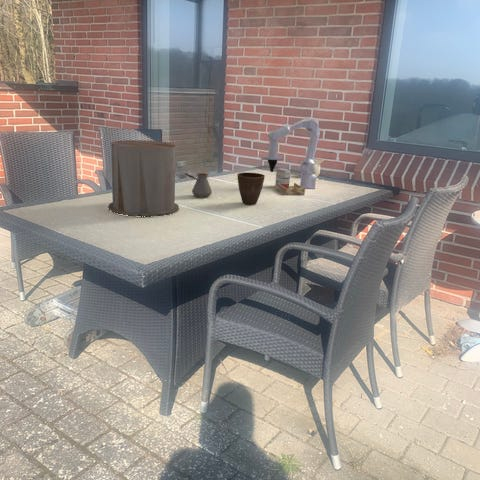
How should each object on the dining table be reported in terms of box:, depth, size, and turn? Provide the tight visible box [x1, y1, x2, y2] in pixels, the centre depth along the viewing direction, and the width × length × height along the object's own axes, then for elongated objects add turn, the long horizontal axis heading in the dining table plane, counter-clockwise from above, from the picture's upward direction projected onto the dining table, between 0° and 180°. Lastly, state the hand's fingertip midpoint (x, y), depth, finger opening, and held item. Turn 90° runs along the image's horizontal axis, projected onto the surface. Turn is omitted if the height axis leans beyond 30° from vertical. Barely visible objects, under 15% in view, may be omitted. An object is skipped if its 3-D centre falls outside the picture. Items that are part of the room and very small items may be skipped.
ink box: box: [274, 168, 291, 188], centre depth 325 cm, size 8×5×12 cm, turn 39°
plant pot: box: [236, 172, 266, 206], centre depth 274 cm, size 15×15×16 cm
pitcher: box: [299, 158, 325, 179], centre depth 365 cm, size 11×18×14 cm, turn 64°
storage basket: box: [107, 139, 180, 218], centre depth 249 cm, size 35×35×32 cm
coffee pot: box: [182, 172, 213, 199], centre depth 281 cm, size 21×12×15 cm, turn 144°
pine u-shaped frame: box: [275, 182, 306, 196], centre depth 313 cm, size 13×17×4 cm
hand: (271, 171), depth 320 cm, fingers closed
